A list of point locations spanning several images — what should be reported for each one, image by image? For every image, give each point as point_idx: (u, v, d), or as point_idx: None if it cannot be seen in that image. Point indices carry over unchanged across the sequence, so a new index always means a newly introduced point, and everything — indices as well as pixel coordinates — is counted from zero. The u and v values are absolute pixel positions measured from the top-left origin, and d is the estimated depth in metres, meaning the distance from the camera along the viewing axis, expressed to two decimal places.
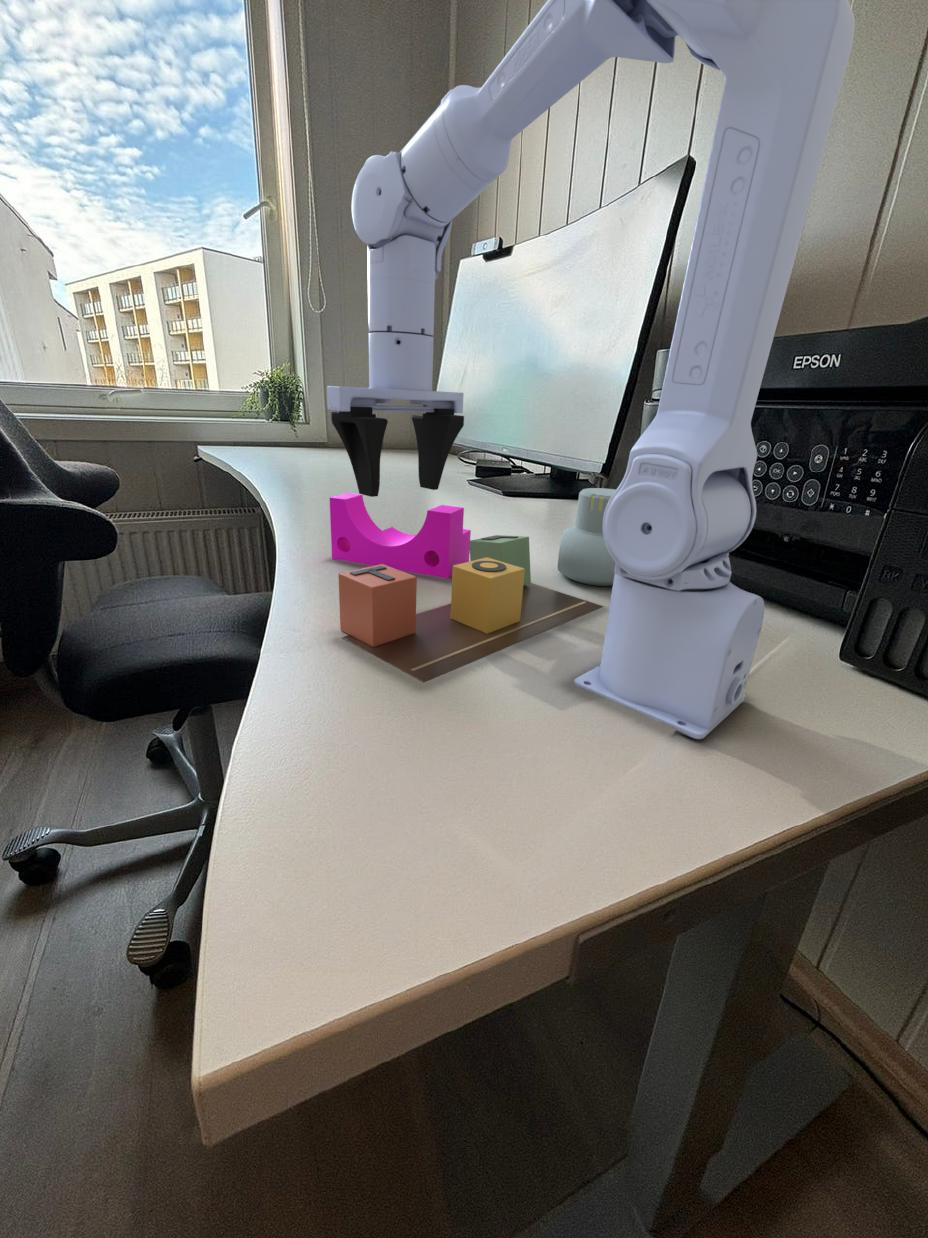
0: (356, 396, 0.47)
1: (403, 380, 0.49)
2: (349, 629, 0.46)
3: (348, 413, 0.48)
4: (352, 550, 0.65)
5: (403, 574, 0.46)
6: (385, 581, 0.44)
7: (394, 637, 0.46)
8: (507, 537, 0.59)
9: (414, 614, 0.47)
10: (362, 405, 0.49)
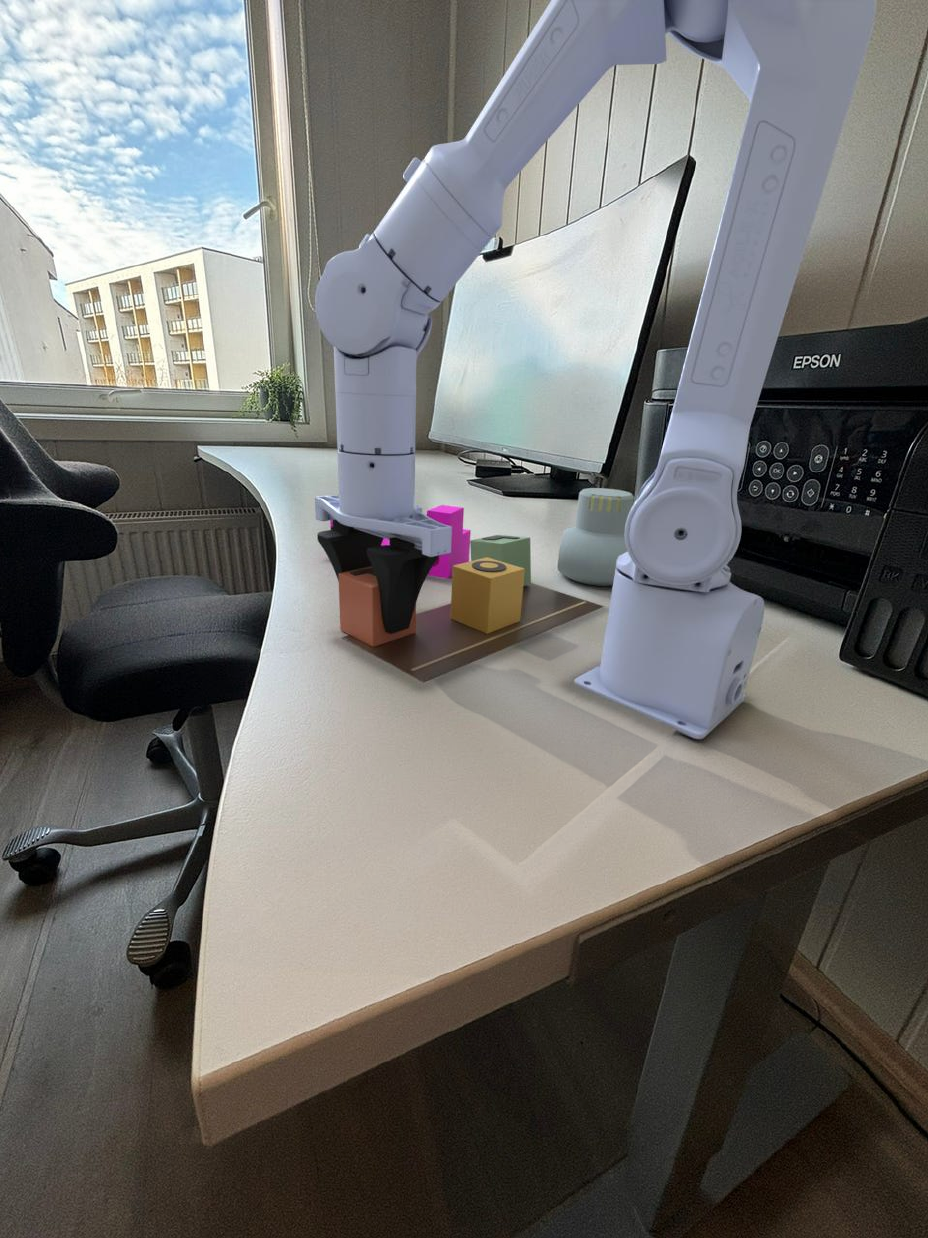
0: (323, 508, 0.47)
1: None
2: (349, 629, 0.46)
3: None
4: None
5: None
6: None
7: (394, 637, 0.46)
8: (508, 537, 0.59)
9: (414, 614, 0.47)
10: None
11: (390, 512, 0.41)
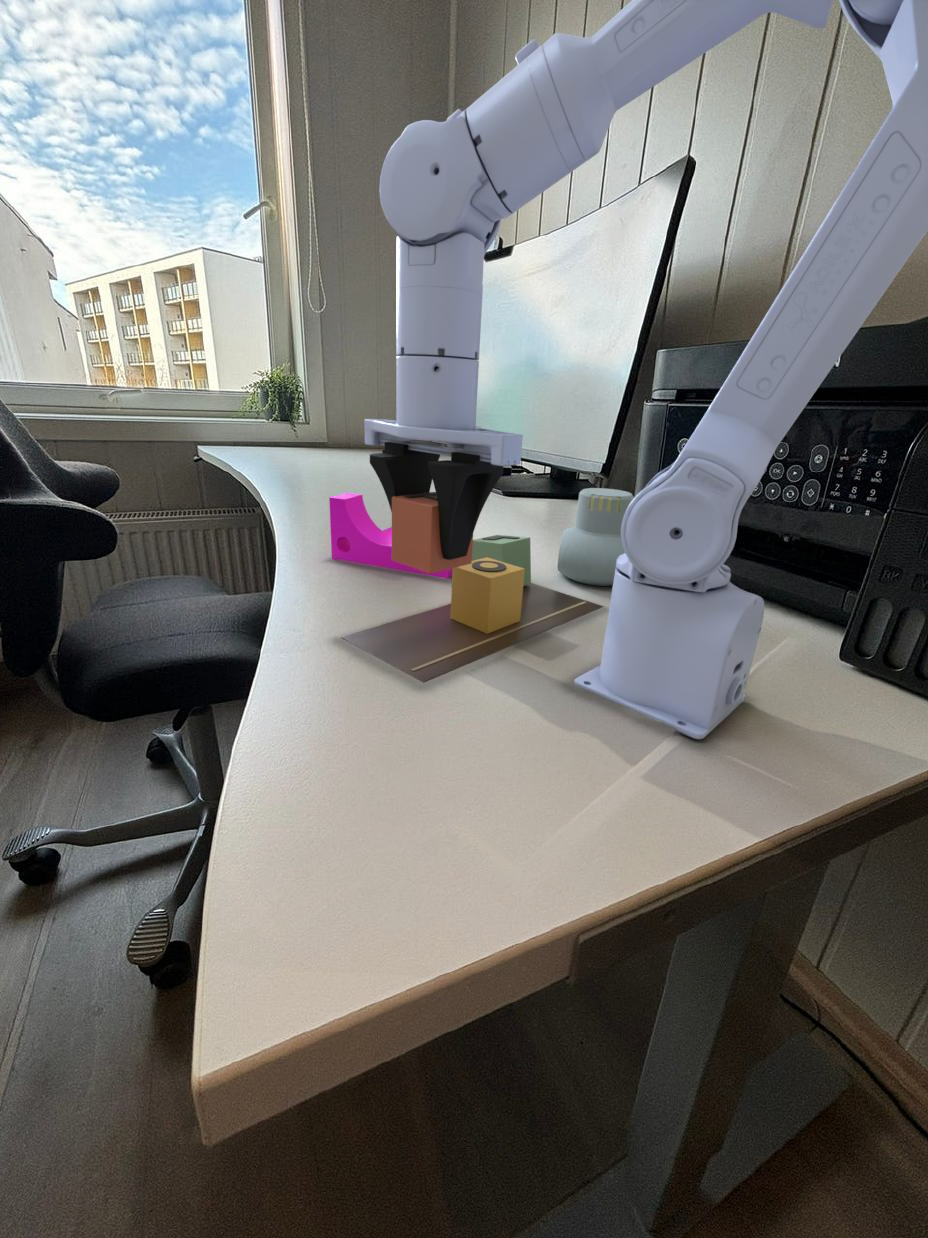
0: (374, 429, 0.44)
1: (396, 413, 0.40)
2: (402, 557, 0.43)
3: None
4: (352, 550, 0.65)
5: None
6: None
7: (451, 565, 0.43)
8: (508, 537, 0.59)
9: (471, 542, 0.44)
10: (392, 440, 0.44)
11: (454, 422, 0.38)
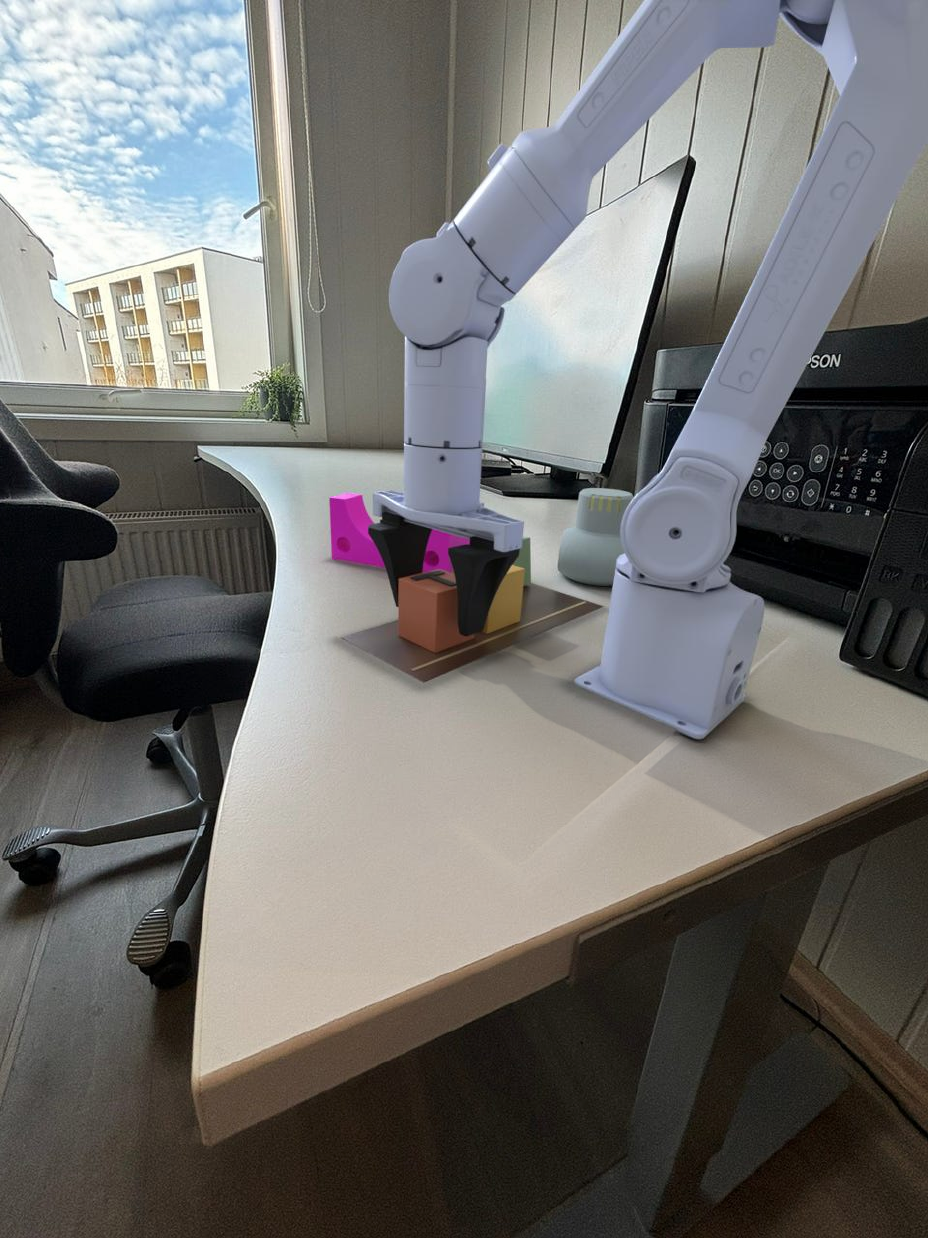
0: (381, 503, 0.46)
1: (403, 494, 0.42)
2: (408, 635, 0.46)
3: None
4: (352, 550, 0.65)
5: None
6: (448, 587, 0.44)
7: (454, 643, 0.45)
8: None
9: None
10: (399, 514, 0.46)
11: (458, 507, 0.40)
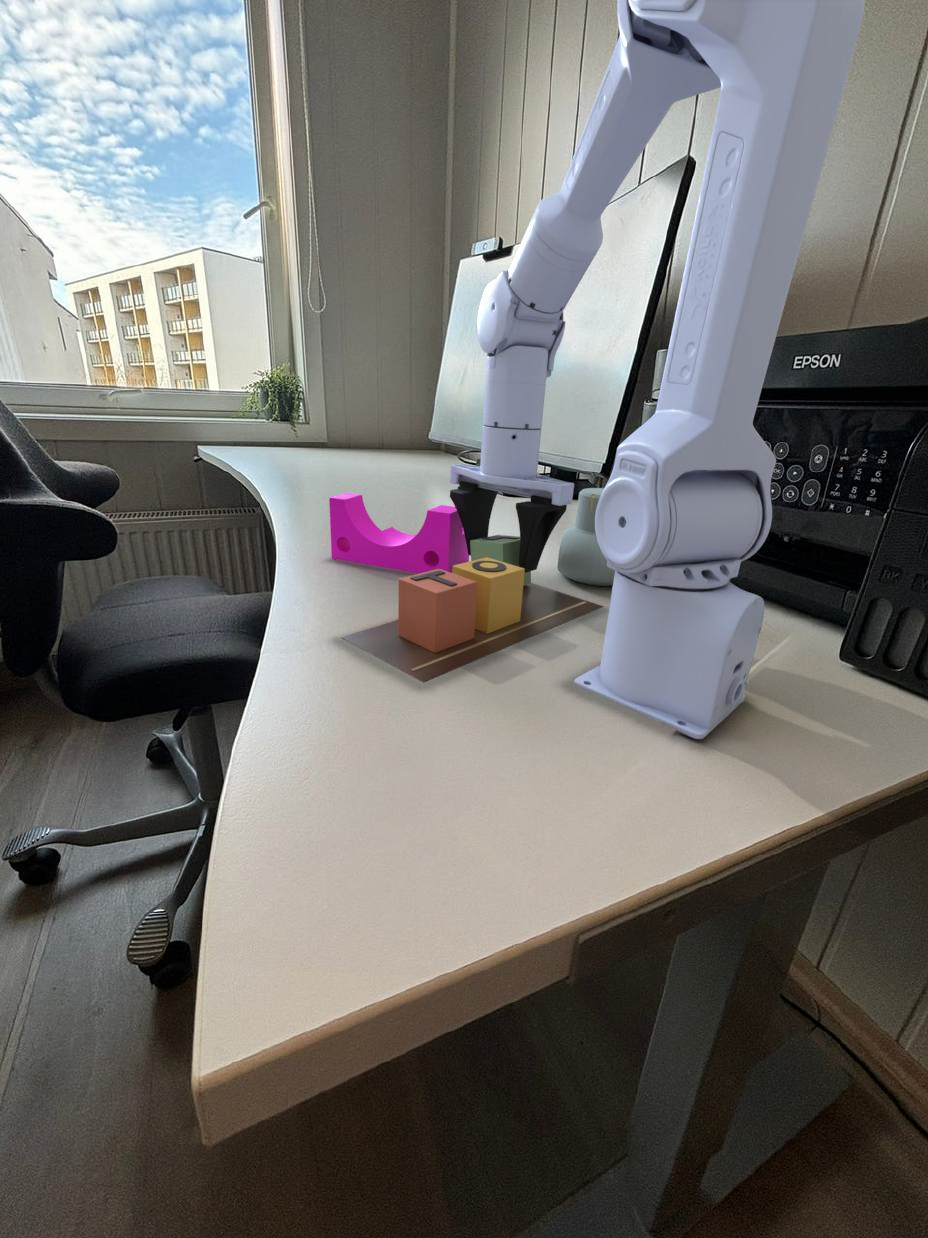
0: (459, 473, 0.60)
1: (481, 465, 0.56)
2: (408, 635, 0.46)
3: None
4: (352, 550, 0.65)
5: (463, 580, 0.45)
6: (448, 587, 0.44)
7: (454, 643, 0.45)
8: (508, 537, 0.59)
9: (473, 619, 0.46)
10: (472, 481, 0.60)
11: (524, 473, 0.54)
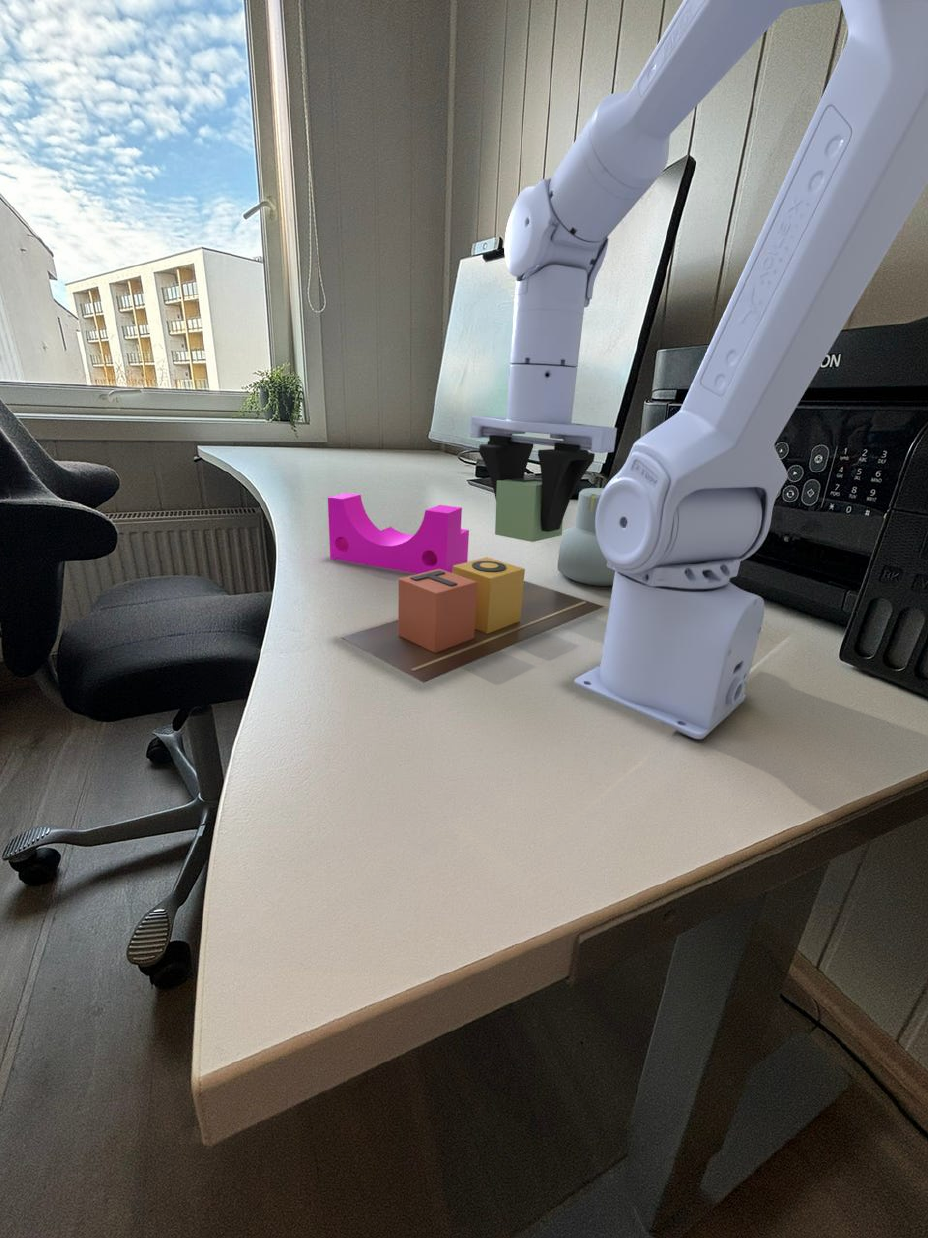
0: (480, 425, 0.53)
1: (507, 411, 0.49)
2: (408, 635, 0.46)
3: None
4: (350, 550, 0.65)
5: (463, 580, 0.45)
6: (448, 587, 0.44)
7: (454, 643, 0.45)
8: (541, 480, 0.52)
9: (473, 619, 0.46)
10: (496, 434, 0.53)
11: (558, 418, 0.47)
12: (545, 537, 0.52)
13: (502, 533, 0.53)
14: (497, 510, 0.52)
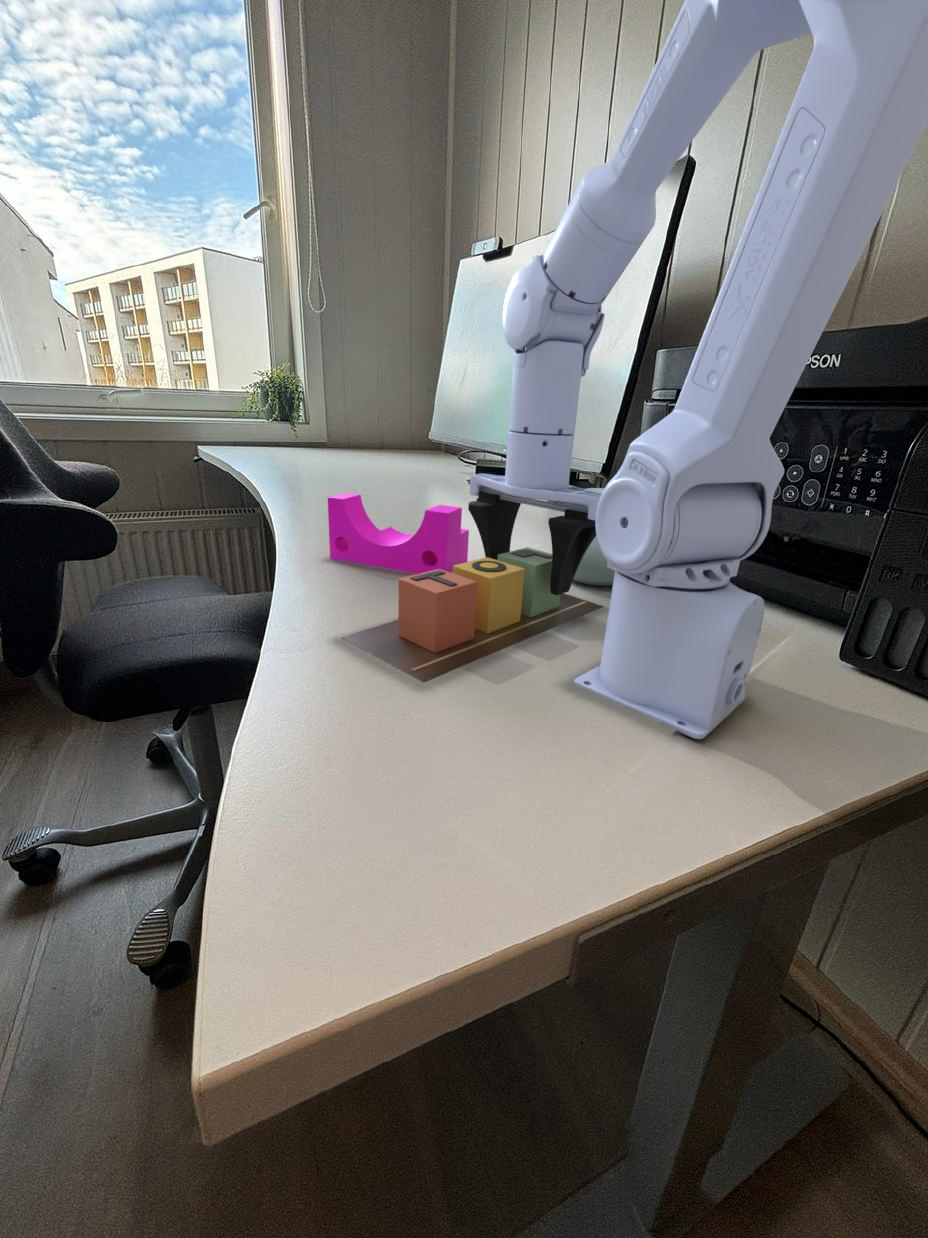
0: (480, 484, 0.54)
1: (506, 475, 0.50)
2: (408, 635, 0.46)
3: None
4: (350, 550, 0.65)
5: (463, 580, 0.45)
6: (448, 587, 0.44)
7: (454, 643, 0.45)
8: (541, 555, 0.53)
9: (473, 619, 0.46)
10: (494, 493, 0.54)
11: (555, 484, 0.48)
12: (543, 611, 0.53)
13: None
14: None
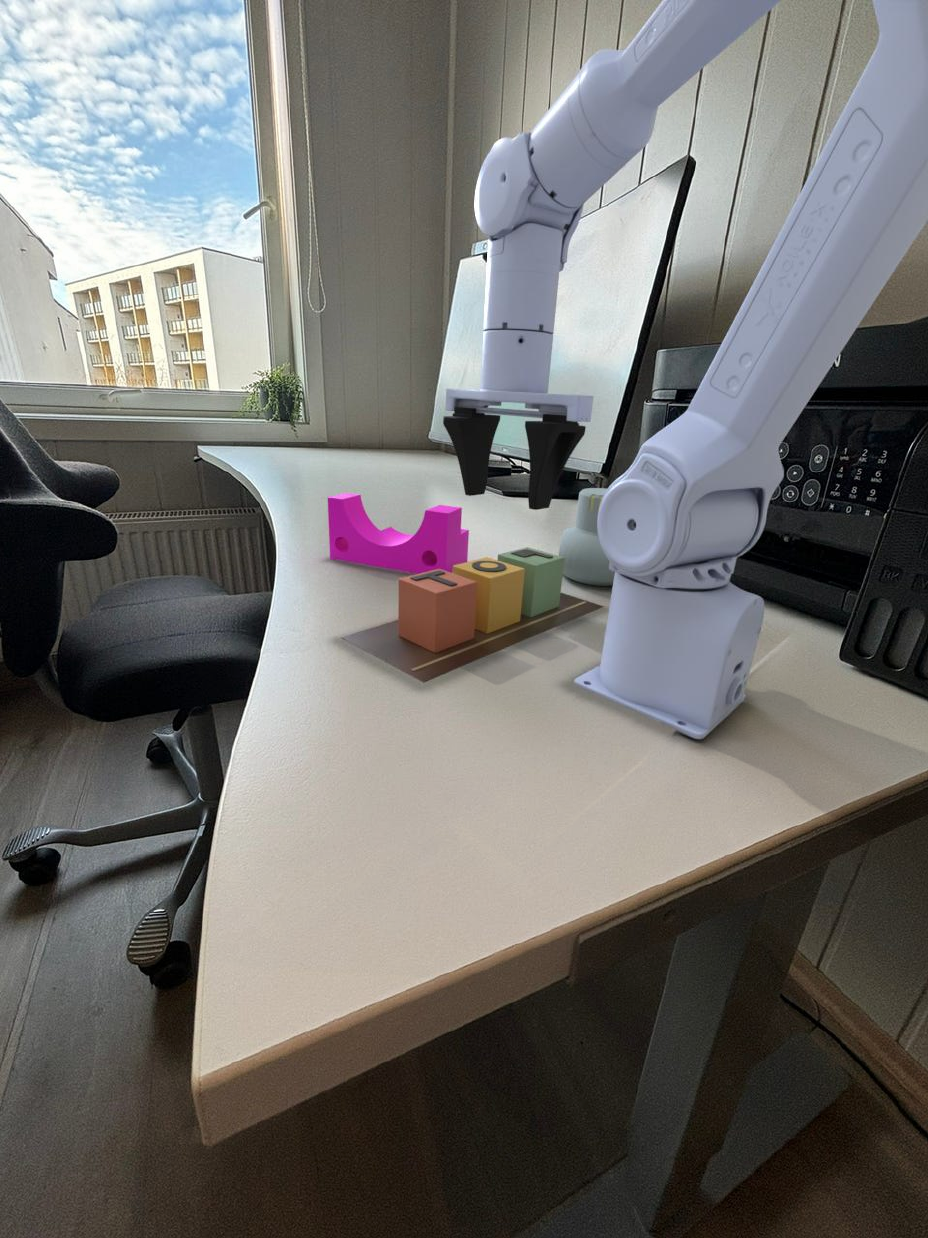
0: (455, 397, 0.51)
1: (481, 380, 0.47)
2: (408, 635, 0.46)
3: None
4: (350, 550, 0.65)
5: (463, 580, 0.45)
6: (448, 587, 0.44)
7: (454, 643, 0.45)
8: (541, 555, 0.53)
9: (473, 619, 0.46)
10: (471, 406, 0.51)
11: (533, 387, 0.45)
12: (543, 611, 0.53)
13: None
14: None
